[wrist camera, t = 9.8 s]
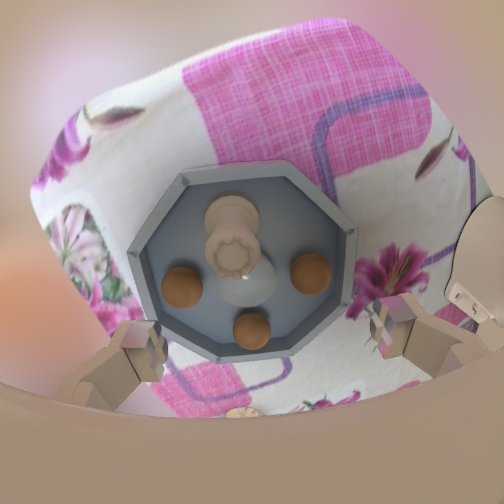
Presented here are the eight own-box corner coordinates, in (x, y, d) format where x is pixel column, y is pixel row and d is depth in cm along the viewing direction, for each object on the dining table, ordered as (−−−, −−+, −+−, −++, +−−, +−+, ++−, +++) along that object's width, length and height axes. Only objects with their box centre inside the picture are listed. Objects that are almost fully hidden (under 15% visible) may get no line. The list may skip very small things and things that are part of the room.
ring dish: (377, 250, 26) (391, 264, 23) (255, 364, 31) (257, 383, 29) (229, 114, 20) (229, 112, 17) (112, 278, 25) (101, 295, 22)
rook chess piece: (231, 251, 24) (232, 306, 17) (193, 216, 22) (176, 260, 15) (270, 216, 23) (289, 259, 16) (232, 177, 21) (233, 204, 14)
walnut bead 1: (212, 274, 25) (210, 297, 21) (189, 300, 26) (185, 324, 22) (179, 252, 23) (171, 272, 20) (158, 279, 24) (149, 302, 21)
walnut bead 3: (332, 261, 25) (346, 281, 22) (305, 288, 26) (315, 310, 23) (306, 238, 24) (317, 256, 21) (278, 267, 25) (285, 289, 22)
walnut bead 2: (276, 316, 27) (281, 340, 24) (252, 337, 28) (255, 362, 25) (248, 298, 26) (250, 322, 23) (225, 321, 27) (224, 346, 24)
